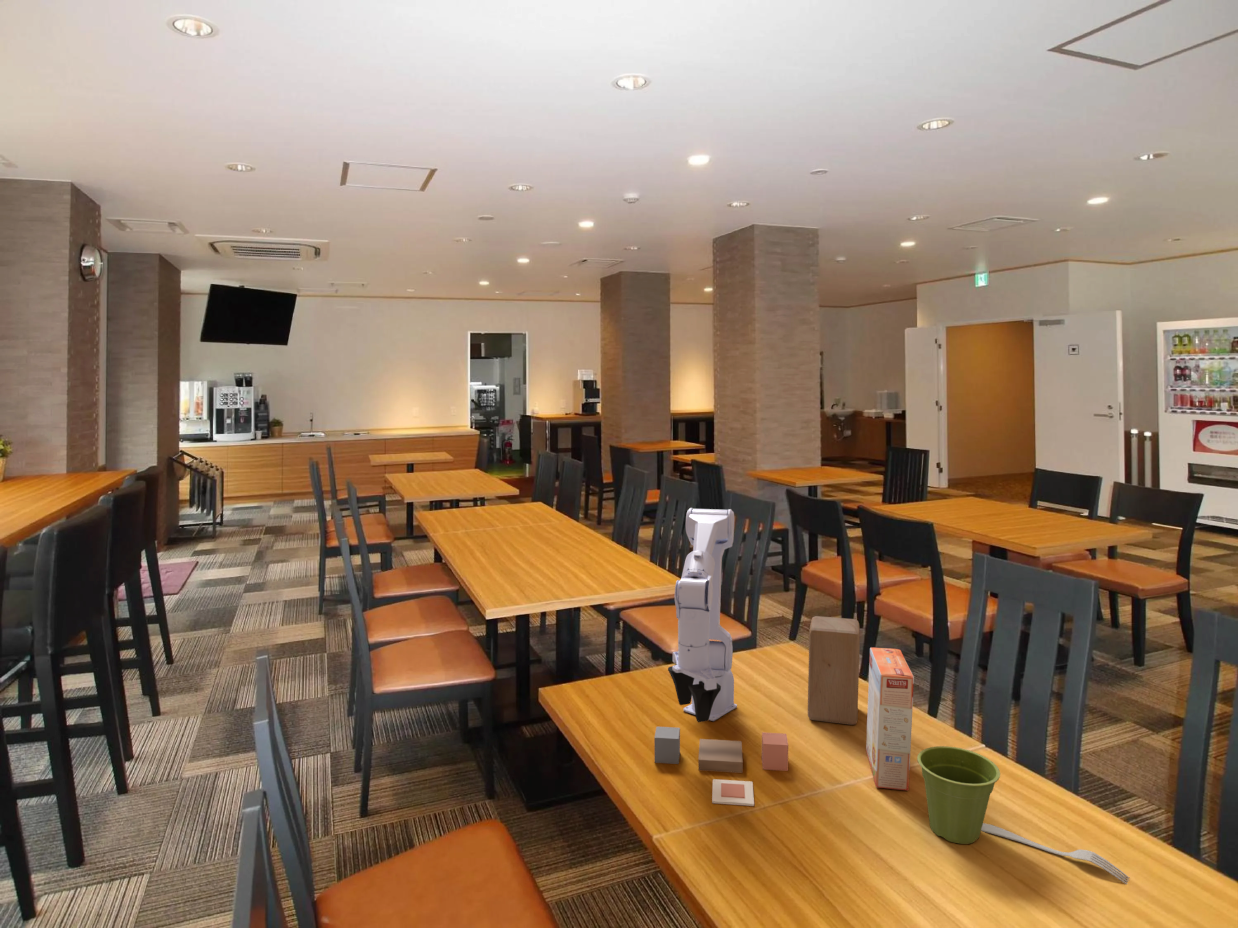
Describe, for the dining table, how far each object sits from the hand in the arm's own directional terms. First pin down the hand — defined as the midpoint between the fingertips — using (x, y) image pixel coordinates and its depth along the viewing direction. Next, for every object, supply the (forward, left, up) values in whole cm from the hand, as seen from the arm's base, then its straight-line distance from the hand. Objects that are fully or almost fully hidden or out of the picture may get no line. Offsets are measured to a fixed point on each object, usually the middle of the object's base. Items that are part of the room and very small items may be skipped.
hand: (693, 712), depth 140 cm
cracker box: (-21, +29, -10) cm, 37 cm away
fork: (-14, +57, -10) cm, 59 cm away
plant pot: (-9, +44, -10) cm, 46 cm away
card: (+4, +12, -10) cm, 16 cm away
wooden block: (-36, +11, -10) cm, 39 cm away
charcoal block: (+2, -5, -10) cm, 11 cm away
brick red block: (-9, +12, -10) cm, 18 cm away
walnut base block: (-4, +4, -10) cm, 11 cm away
